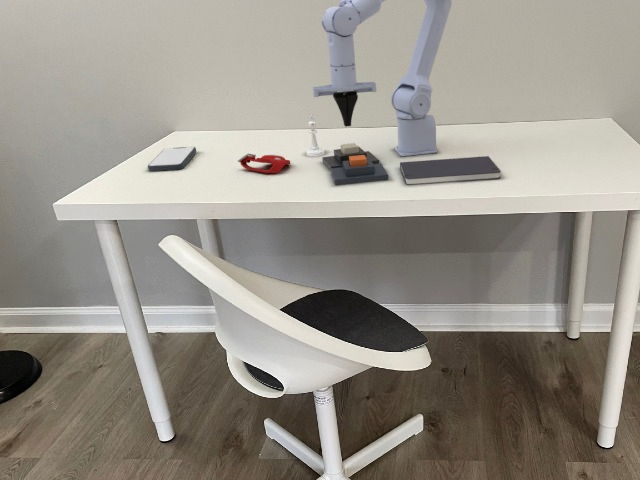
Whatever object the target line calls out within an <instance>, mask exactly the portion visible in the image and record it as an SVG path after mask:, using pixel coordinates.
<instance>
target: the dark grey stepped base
mask: <svg viewBox="0 0 640 480" xmlns="http://www.w3.org/2000/svg"><path fill="white" fill-rule="evenodd" d="M358 147H359V153H352V154H343V153H342V152H341V148H338V149H333V155H329V156H322V157H321V159H322V163H323V165H324V166H325V167H326V168H327V169H328V170H329V172H331V168H340V167H343V162H342V161H349V156H358V155H365V157H366V159H371V161H372V163H373V164H380V159H379V158H378V157H377V156H375V155H374V154H373V153H372V152H370V151H369V150H367V151H364V150H363V148H362V147H360V146H358Z"/></svg>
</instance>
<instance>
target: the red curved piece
mask: <svg viewBox="0 0 640 480" xmlns="http://www.w3.org/2000/svg"><path fill="white" fill-rule="evenodd" d="M237 162H238V163H240V165H241V167H243V168H244V169H247V170H249V171H252V172H259V173H263V174H264V173H265V174H278V173H279V172H281V170H283V168H284V167H285V166H286V165H287V166H289V165H291V160H288V159H286V158H285V157H284V156H283V155H282V156H281V155H277V154H265V155H262V156H261V157H257V155H256V154H253V153H246V154H245V155H243V156H242V157H240V158H238V159H237ZM251 162H255V163H261V164H270V165H272V166H271V167H270V168H269V169H262V168H257V167H252V166H250V165H249V163H251Z"/></svg>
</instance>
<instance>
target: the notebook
mask: <svg viewBox="0 0 640 480" xmlns="http://www.w3.org/2000/svg"><path fill="white" fill-rule="evenodd" d="M399 169H400V172H401V175H402V177H403V180H404V184H405V185H406V186H416V185H429V184H430V185H431V184H442V183H443V184H444V183H459V182H460V183H461V182H473V181H485V180H487V181H488V180H499V179H501V175H500V173H501V169H500V168H499V166H497V164H496V163H495V162H494V161H493V159H492V158H491V157H490V156H489V155H485V156H470V157H457V158H456V157H455V158H443V159H428V160H427V159H426V160H413V161H400V162H399Z"/></svg>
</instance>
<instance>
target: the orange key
mask: <svg viewBox="0 0 640 480" xmlns="http://www.w3.org/2000/svg"><path fill="white" fill-rule="evenodd" d="M349 163H350V166H351V167H357V166H367V159H366V157H365V155H358V156H349Z"/></svg>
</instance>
